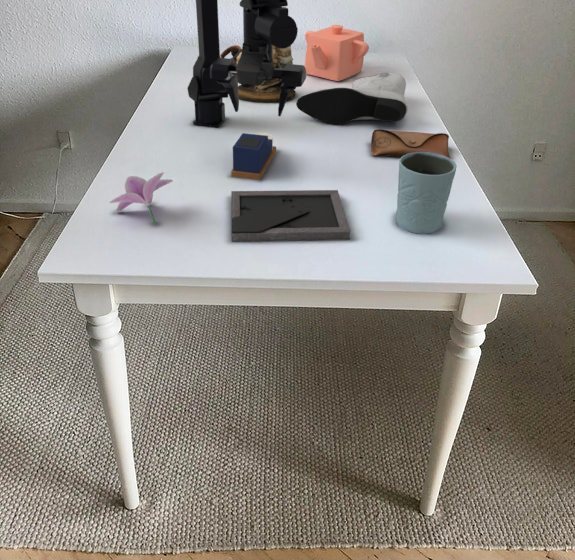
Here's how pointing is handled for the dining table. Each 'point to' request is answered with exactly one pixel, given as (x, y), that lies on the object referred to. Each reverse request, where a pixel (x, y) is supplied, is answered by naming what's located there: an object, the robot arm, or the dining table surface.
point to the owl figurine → (268, 80)
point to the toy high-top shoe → (252, 155)
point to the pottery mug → (232, 52)
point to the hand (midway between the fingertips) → (258, 113)
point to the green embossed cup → (423, 191)
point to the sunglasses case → (408, 143)
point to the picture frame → (288, 215)
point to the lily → (140, 191)
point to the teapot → (335, 52)
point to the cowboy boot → (358, 101)
